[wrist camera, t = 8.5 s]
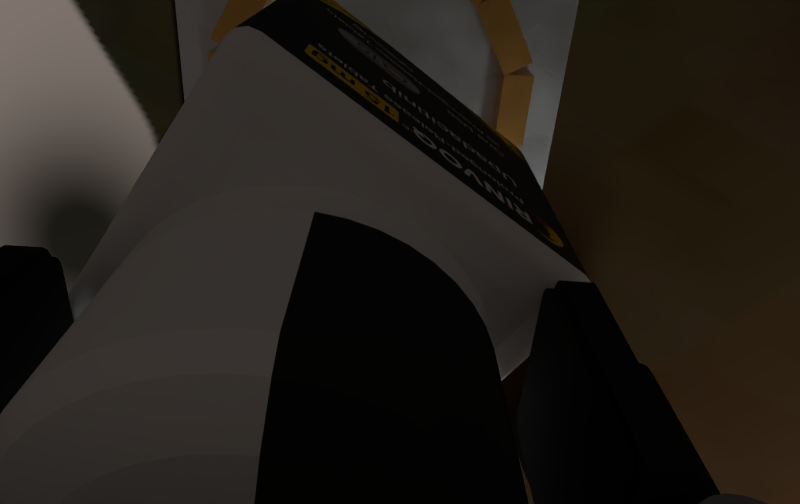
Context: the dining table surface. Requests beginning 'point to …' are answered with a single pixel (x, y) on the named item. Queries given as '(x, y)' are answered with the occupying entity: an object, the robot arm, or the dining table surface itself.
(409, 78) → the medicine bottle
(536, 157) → the white square ringed board
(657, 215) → the dining table surface
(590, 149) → the dining table surface
